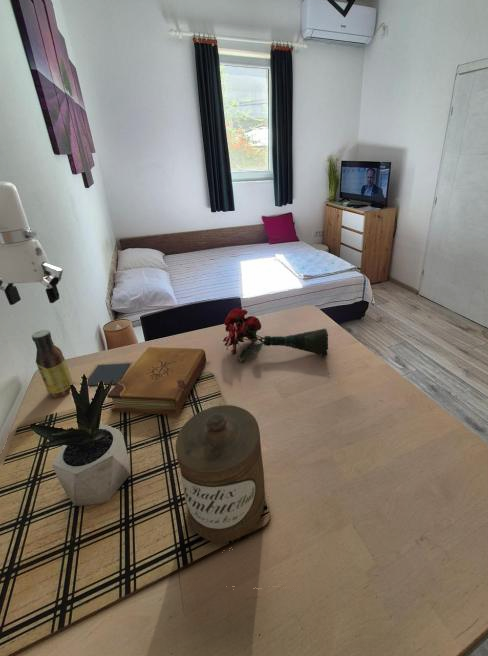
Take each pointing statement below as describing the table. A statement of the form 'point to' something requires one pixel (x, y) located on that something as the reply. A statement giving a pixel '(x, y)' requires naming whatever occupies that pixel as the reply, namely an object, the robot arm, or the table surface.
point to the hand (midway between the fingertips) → (35, 301)
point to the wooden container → (222, 472)
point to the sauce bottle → (51, 364)
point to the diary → (158, 381)
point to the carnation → (249, 327)
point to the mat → (107, 374)
